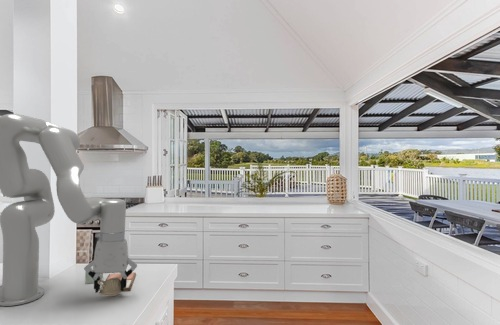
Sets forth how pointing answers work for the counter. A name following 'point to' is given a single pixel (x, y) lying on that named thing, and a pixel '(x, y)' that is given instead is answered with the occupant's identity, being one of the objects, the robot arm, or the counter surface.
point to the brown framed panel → (129, 279)
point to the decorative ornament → (110, 286)
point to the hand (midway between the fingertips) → (110, 289)
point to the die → (89, 279)
